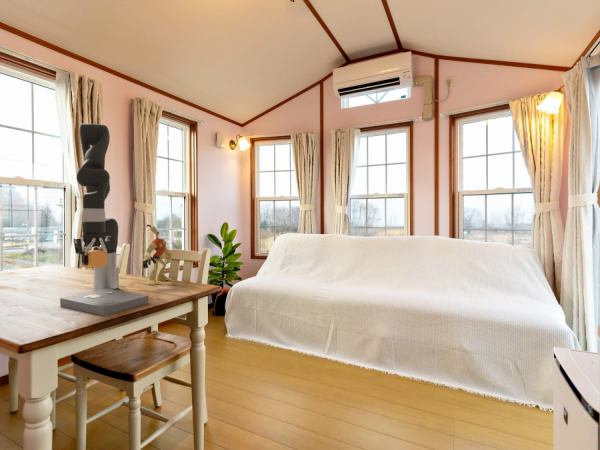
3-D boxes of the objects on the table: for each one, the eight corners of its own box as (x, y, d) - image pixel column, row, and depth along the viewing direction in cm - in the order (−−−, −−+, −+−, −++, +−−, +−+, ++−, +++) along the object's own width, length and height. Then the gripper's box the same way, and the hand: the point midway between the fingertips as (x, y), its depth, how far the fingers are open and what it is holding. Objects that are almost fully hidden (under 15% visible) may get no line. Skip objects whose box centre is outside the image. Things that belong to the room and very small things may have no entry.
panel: (106, 295, 139) (106, 287, 139) (148, 303, 128) (148, 294, 128) (60, 306, 123) (60, 296, 122) (103, 315, 111) (103, 305, 111)
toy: (149, 288, 152) (149, 225, 150) (133, 288, 153) (132, 225, 152) (176, 279, 174) (176, 224, 173) (161, 278, 176) (161, 223, 175)
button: (96, 302, 127) (96, 295, 127) (101, 303, 125) (101, 296, 125) (88, 304, 124) (88, 296, 124) (93, 305, 122) (93, 297, 122)
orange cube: (97, 264, 128) (97, 250, 128) (106, 266, 125) (106, 250, 125) (81, 267, 123) (81, 251, 122) (91, 268, 120) (91, 252, 120)
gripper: (105, 220, 132) (106, 260, 132) (68, 220, 119) (68, 265, 119) (117, 220, 128) (118, 262, 129) (80, 220, 115) (80, 267, 116)
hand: (94, 263), depth 124 cm, fingers closed on orange cube, 6 cm apart
